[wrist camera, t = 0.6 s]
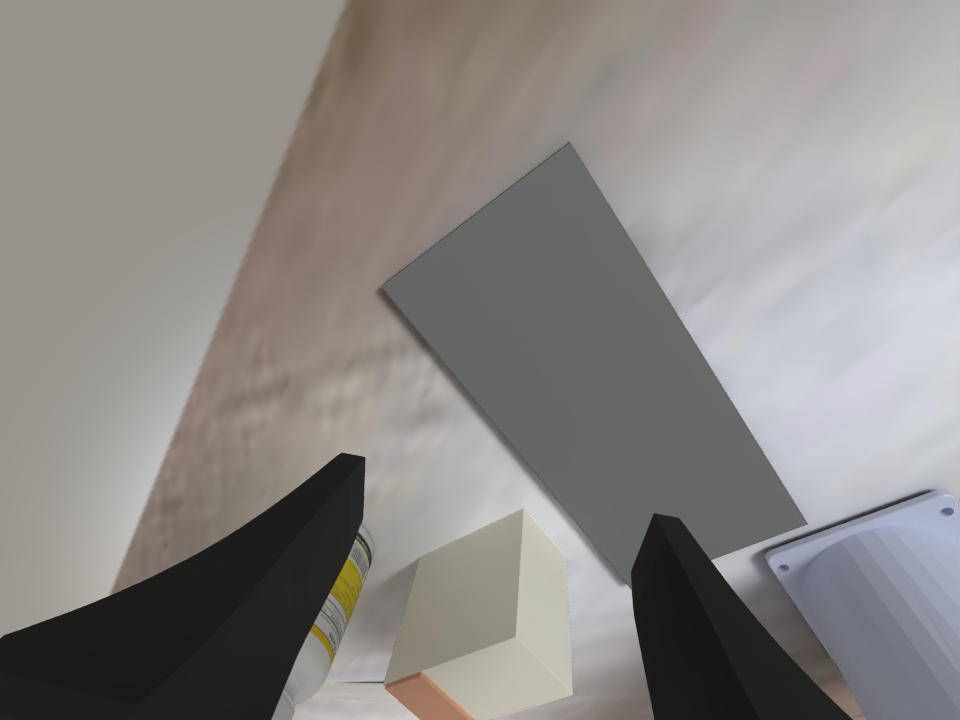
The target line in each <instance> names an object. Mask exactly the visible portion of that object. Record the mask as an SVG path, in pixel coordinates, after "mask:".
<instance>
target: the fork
mask: <svg viewBox="0 0 960 720" xmlns="http://www.w3.org/2000/svg"><path fill="white" fill-rule="evenodd" d="M311 698H320V699H344V700H368V701H398V700H397V699H396V698H395V697H394V696H392V695H391V694H390V693H389V692H388V691H387V690H385V687H384V686H383V683H323V685H322V686H321V688H320V689H319V690H318V691H317V693H316V694H314V695H313V696H312V697H311Z"/></svg>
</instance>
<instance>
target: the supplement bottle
mask: <svg viewBox="0 0 960 720" xmlns="http://www.w3.org/2000/svg"><path fill="white" fill-rule="evenodd" d="M372 558H373V544H372V541H371V538H370V537H369V535H368V533H367V531H366V530H365V529H364V528H363V527H362V525H360V528H359V531H358V533H357V536H356V539H355V541H354V544H353V547H352V549H351V552H350V554H349V556H348V558H347V560H346V562H345V564H344V566H343V568H342V570H341V572H340V574H339V576H338V578H337V580H336V582H335V584H334V586H333V588H332V590H331V592H330V593H329V595H328V597H327V599H326V601H325V603H324V605H323V607H322V609H321V611H320V613H319V615H318V616H317V618H316V620H315V622H314V624H313V626H312V628H311V630H310V632H309V634H308V636H307V638H306V639H305V642H304V644H303V646H302V648H301V650H300V652H299V654H298V656H297V658H296V661H295V663H294V666H293V668H292V670H291V673H290V675H289V678H288V680H287V683H286V685H285V687H284V690H283V692H282V695H281V697H280V700H279V702H278V704H277V707H276V709H275V712H274V715H273V717H272V720H292V717H293V715H294V712H295V706H294V705H296V704H299V703H302V702H304V701H306V700H308V699H309V698H311V697H312V696H313V695H314V694H316V693H317V691H318V690H319V689H320V688H321V686H322V685H323V683H324V681H325V679H326V677H327V675H328V672H329V670H330V668H331V665H332V663H333V660H334V657H335V655H336V652H337V650H338V647H339V645H340V642H341V640H342V637H343V634H344V632H345V629H346V627H347V624H348V622H349V619H350V617H351V614H352V612H353V609H354V606H355V604H356V601H357V599H358V597H359V594H360V591H361V589H362V586H363V584H364V581H365V579H366V576H367V573H368V570H369V568H370V565H371V562H372Z"/></svg>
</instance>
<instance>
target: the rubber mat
mask: <svg viewBox="0 0 960 720" xmlns="http://www.w3.org/2000/svg"><path fill="white" fill-rule="evenodd" d="M381 287H382V288H383V289H384V291H385V292H386V293H387V294H388V295H389V297H390V298H391V299H392V300H393V301H394V303H395V304H396V305H397V306H398V307H399V309H400V310H401V311H402V312H403V314H404V315H405V316H406V317H407V318H408V320H409V321H410V322H411V323H412V324H413V326H414V327H415V328H416V329H417V331H418V332H419V333H420V334H421V335H422V337H423V338H424V339H425V340H426V341H427V343H428V344H429V345H430V346H431V347H432V349H433V350H434V351H435V352H436V354H437V355H438V356H439V357H440V358H441V360H442V361H443V362H444V363H445V364H446V366H447V367H448V368H449V369H450V371H451V372H452V373H453V374H454V375H455V377H456V378H457V379H458V380H459V381H460V383H461V384H462V385H463V386H464V387H465V389H466V390H467V391H468V392H469V394H470V395H471V396H472V397H473V398H474V400H475V401H476V402H477V403H478V404H479V406H480V407H481V408H482V409H483V411H484V412H485V413H486V414H487V415H488V417H489V418H490V419H491V420H492V421H493V423H494V424H495V425H496V426H497V427H498V429H499V430H500V431H501V432H502V434H503V435H504V436H505V437H506V438H507V440H508V441H509V442H510V443H511V444H512V446H513V447H514V448H515V449H516V451H517V452H518V453H519V454H520V455H521V457H522V458H523V459H524V460H525V461H526V463H527V464H528V465H529V466H530V467H531V469H532V470H533V471H534V472H535V474H536V475H537V476H538V477H539V478H540V480H541V481H542V482H543V483H544V484H545V486H546V487H547V488H548V489H549V491H550V492H551V493H552V494H553V495H554V497H555V498H556V499H557V500H558V501H559V503H560V504H561V505H562V506H563V507H564V509H565V510H566V511H567V512H568V514H569V515H570V516H571V517H572V518H573V520H574V521H575V522H576V523H577V524H578V526H579V527H580V528H581V529H582V531H583V532H584V533H585V534H586V535H587V537H588V538H589V539H590V540H591V541H592V543H593V544H594V545H595V546H596V547H597V549H598V550H599V551H600V552H601V554H602V555H603V556H604V557H605V558H606V560H607V561H608V562H609V563H610V564H611V566H612V567H613V568H614V569H615V571H616V572H617V573H618V574H619V575H620V577H621V578H622V579H623V580H624V581H625V583H626V584H627V585H628V586H629V587H630V589H632V583H631V570H632V567H633V565H634V562H635V560H636V557H637V555H638V552H639V550H640V547H641V544H642V542H643V539H644V537H645V534H646V532H647V529H648V527H649V524H650V521H651V519H652V516H653V514H654V513H657V514H662V515H667V516H672V517H677V518H680V519H681V521H682V522H683V523H684V525H685V526H686V527H687V529H688V530H689V532H690V533H691V534H692V536H693V537H694V538H695V540H696V541H697V542H698V544H699V545H700V547H701V548H702V549H703V551H704V552H705V553H706V555H707V556H708V557H709V559H710V560H713V559H715V558H718V557H721V556H723V555H726V554H729V553H732V552H734V551H737V550H740V549H742V548H745V547H748V546H750V545H753V544H756V543H759V542H761V541H764V540H767V539H769V538H772V537H775V536H777V535H780V534H783V533H786V532H788V531H791V530H794V529H796V528H799V527H802V526H805V525H807V524H808V523H807V522H806V520H805V519H804V517H803V515H802V514H801V512H800V511H799V509H798V507H797V506H796V504H795V503H794V501H793V499H792V498H791V496H790V495H789V493H788V491H787V490H786V488H785V486H784V485H783V483H782V482H781V480H780V478H779V477H778V475H777V474H776V472H775V470H774V469H773V467H772V466H771V464H770V462H769V461H768V459H767V458H766V456H765V454H764V453H763V451H762V450H761V448H760V446H759V445H758V443H757V442H756V440H755V438H754V437H753V435H752V434H751V432H750V430H749V429H748V427H747V425H746V424H745V422H744V421H743V419H742V417H741V416H740V414H739V413H738V411H737V409H736V408H735V406H734V405H733V403H732V401H731V400H730V398H729V397H728V395H727V393H726V392H725V390H724V389H723V387H722V385H721V384H720V382H719V381H718V379H717V377H716V376H715V374H714V373H713V371H712V369H711V368H710V366H709V364H708V363H707V361H706V360H705V358H704V356H703V355H702V353H701V352H700V350H699V348H698V347H697V345H696V344H695V342H694V340H693V339H692V337H691V336H690V334H689V332H688V331H687V329H686V328H685V326H684V324H683V323H682V321H681V320H680V318H679V316H678V315H677V313H676V311H675V310H674V308H673V307H672V305H671V303H670V302H669V300H668V299H667V297H666V295H665V294H664V292H663V291H662V289H661V287H660V286H659V284H658V283H657V281H656V279H655V278H654V276H653V275H652V273H651V271H650V270H649V268H648V267H647V265H646V263H645V262H644V260H643V259H642V257H641V255H640V254H639V252H638V250H637V249H636V247H635V246H634V244H633V242H632V241H631V239H630V238H629V236H628V234H627V233H626V231H625V230H624V228H623V226H622V225H621V223H620V222H619V220H618V218H617V217H616V215H615V214H614V212H613V210H612V209H611V207H610V206H609V204H608V202H607V201H606V199H605V198H604V196H603V194H602V193H601V191H600V189H599V188H598V186H597V185H596V183H595V181H594V180H593V178H592V177H591V175H590V173H589V172H588V170H587V169H586V167H585V165H584V164H583V162H582V161H581V159H580V157H579V156H578V154H577V153H576V151H575V149H574V148H573V146H572V145H571V143H570V142H569V143H567V144H566V145H565V146H563V147H562V148H561V149H560V150H558V151H557V152H556V153H554V154H553V155H552V156H550V157H549V158H548V159H546V160H545V161H544V162H543V163H541V164H540V165H539V166H537V167H536V168H535V169H533V170H532V171H531V172H529V173H528V174H527V175H526V176H524V177H523V178H522V179H520V180H519V181H518V182H516V183H515V184H514V185H512V186H511V187H510V188H509V189H507V190H506V191H505V192H503V193H502V194H501V195H499V196H498V197H497V198H495V199H494V200H493V201H492V202H490V203H489V204H488V205H486V206H485V207H484V208H482V209H481V210H480V211H478V212H477V213H476V214H474V215H473V216H472V217H471V218H469V219H468V220H467V221H465V222H464V223H463V224H461V225H460V226H459V227H457V228H456V229H455V230H454V231H452V232H451V233H450V234H448V235H447V236H446V237H444V238H443V239H442V240H440V241H439V242H438V243H437V244H435V245H434V246H433V247H431V248H430V249H429V250H427V251H426V252H425V253H423V254H422V255H421V256H420V257H418V258H417V259H416V260H414V261H413V262H412V263H410V264H409V265H408V266H406V267H405V268H404V269H403V270H401V271H400V272H399V273H397V274H396V275H395V276H393V277H392V278H391V279H389V280H388V281H387V282H385V283H384V284H383V285H382V286H381Z"/></svg>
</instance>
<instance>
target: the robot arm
mask: <svg viewBox="0 0 960 720" xmlns="http://www.w3.org/2000/svg"><path fill="white" fill-rule="evenodd" d="M364 482H365V457H362V456H357V455H352V454H347V453H341V454H339V455H338V456H336V457H335V458H334V459H333V460H331V461H330V462H329V463H328V464H326V465H325V466H324V467H323V468H321V469H320V470H319V471H318V472H316V473H315V474H314V475H313V476H311V477H310V478H309V479H308V480H306V481H305V482H304V483H303V484H301V485H300V486H299V487H297V488H296V489H295V490H293V491H292V492H291V493H289V494H288V495H287V496H285V497H284V498H283V499H281V500H280V501H279V502H277V503H276V504H275V505H273V506H272V507H270V508H269V509H268V510H266V511H265V512H263V513H262V514H260V515H259V516H257V517H256V518H254V519H253V520H251V521H250V522H248V523H247V524H246V525H244V526H243V527H241V528H239V529H238V530H236V531H235V532H233V533H232V534H230V535H228V536H227V537H225V538H223V539H222V540H220V541H219V542H217V543H215V544H213V545H212V546H210V547H208V548H206V549H205V550H203V551H201V552H200V553H198V554H196V555H194V556H192V557H190V558H188V559H186V560H184V561H182V562H180V563H178V564H176V565H174V566H172V567H171V568H169V569H167V570H165V571H163V572H161V573H159V574H157V575H155V576H153V577H151V578H149V579H146V580H144V581H142V582H140V583H138V584H135V585H133V586H131V587H129V588H126V589H124V590H122V591H120V592H118V593H115V594H113V595H110V596H108V597H106V598H103V599H101V600H98V601H96V602H94V603H91V604H89V605H86V606H84V607H81V608H79V609H76V610H73V611H71V612H68V613H65V614H63V615H60V616H57V617H54V618H52V619H49V620H46V621H43V622H40V623H38V624H35V625H32V626H29V627H27V628H24V629H21V630H19V631H15V632H13V633H9V634H7V635H4V636H3V637H2V638H0V720H272V717H273V715H274V712H275V709H276V707H277V704H278V702H279V700H280V697H281V695H282V692H283V690H284V687H285V685H286V683H287V680H288V678H289V675H290V673H291V670H292V668H293V666H294V663H295V661H296V658H297V656H298V654H299V652H300V650H301V648H302V646H303V644H304V642H305V639H306V638H307V636H308V634H309V632H310V630H311V628H312V626H313V624H314V622H315V620H316V618H317V616H318V615H319V613H320V611H321V609H322V607H323V605H324V603H325V601H326V599H327V597H328V595H329V593H330V592H331V590H332V588H333V586H334V584H335V582H336V580H337V578H338V576H339V574H340V572H341V570H342V568H343V566H344V564H345V562H346V560H347V558H348V556H349V554H350V552H351V549H352V547H353V544H354V541H355V539H356V536H357V533H358V531H359V528H360V525H361V523H362V520H363V509H364ZM944 508H945V509H944ZM942 509H943V510H942ZM765 560H766V562H767V564H768V566H769V567H770V568H771V570H772V571H773V573H774V574H775V576H776V577H777V579H778V580H779V582H780V583H781V585H782V586H783V587H784V589H785V590H786V592H787V593H788V595H789V596H790V598H791V599H792V601H793V602H794V604H795V605H796V607H797V608H798V609H799V611H800V612H801V614H802V615H803V617H804V618H805V620H806V621H807V623H808V624H809V626H810V627H811V629H812V630H813V631H814V633H815V634H816V636H817V637H818V639H819V640H820V642H821V643H822V645H823V646H824V648H825V649H826V651H827V652H828V653H829V655H830V656H831V658H832V659H833V661H834V662H835V664H836V665H837V666H838V667H839V669H840V671H841V673H842V675H843V677H844V679H845V680H846V682H847V684H848V686H849V688H850V690H851V692H852V694H853V696H854V697H855V699H856V701H857V703H858V705H859V707H860V709H861V711H862V712H863V714H864V716H865V718H866V720H960V508H959V506H958V504H957V502H956V500H955V498H954V497H953V496H952V495H951V494H950V493H949V492H947V491H944V490H936V491H932V492H929V493H927V494H924V495H921V496H918V497H916V498H913V499H910V500H907V501H905V502H902V503H899V504H896V505H894V506H891V507H888V508H885V509H882V510H880V511H877V512H874V513H871V514H869V515H866V516H863V517H860V518H858V519H855V520H852V521H849V522H846V523H844V524H841V525H838V526H835V527H833V528H830V529H827V530H824V531H822V532H819V533H816V534H813V535H810V536H808V537H805V538H802V539H799V540H797V541H794V542H791V543H788V544H786V545H783V546H780V547H777V548H775V549H772V550H770V551H768V552H767V553H766V554H765ZM780 565H782V566H780ZM631 583H632V598H633V609H634V617H635V623H636V628H637V633H638V639H639V644H640V649H641V654H642V659H643V664H644V669H645V674H646V679H647V684H648V689H649V694H650V699H651V704H652V709H653V714H654V720H853V719H852V718H850V717H849V716H848V715H847V714H846V713H845V712H844V711H843V710H842V709H841V708H840V707H839V706H838V705H837V704H836V703H835V702H834V701H832V700H831V699H830V698H829V697H828V696H827V695H826V694H825V693H824V692H823V691H822V690H821V689H820V688H819V687H818V686H817V685H816V684H815V683H814V682H813V680H812V679H811V678H810V677H809V676H808V675H807V674H806V673H805V672H804V671H803V670H802V669H801V668H800V667H799V666H798V665H797V664H796V663H795V662H794V661H793V660H792V659H791V657H790V656H789V655H788V654H787V653H786V652H785V651H784V650H783V649H782V648H781V647H780V645H779V644H778V643H777V642H776V641H775V640H774V639H773V638H772V636H771V635H770V634H769V633H768V632H767V631H766V629H765V628H764V627H763V626H762V625H761V623H760V622H759V621H758V620H757V619H756V618H755V616H754V615H753V614H752V613H751V612H750V610H749V609H748V608H747V607H746V605H745V604H744V603H743V602H742V601H741V599H740V598H739V597H738V596H737V594H736V593H735V592H734V590H733V589H732V588H731V587H730V585H729V584H728V583H727V581H726V580H725V579H724V578H723V576H722V575H721V574H720V572H719V571H718V570H717V568H716V567H715V566H714V564H713V563H712V562H711V560H710V559H709V557H708V556H707V555H706V553H705V552H704V551H703V549H702V548H701V547H700V545H699V544H698V542H697V541H696V540H695V538H694V537H693V536H692V534H691V533H690V532H689V530H688V529H687V527H686V526H685V525H684V523H683V522H682V521H681V519H680V518H677V517H672V516H667V515H662V514H657V513H654V514H653V516H652V519H651V521H650V524H649V527H648V529H647V532H646V534H645V537H644V539H643V542H642V544H641V547H640V550H639V552H638V555H637V557H636V560H635V562H634V565H633V567H632V570H631Z"/></svg>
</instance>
